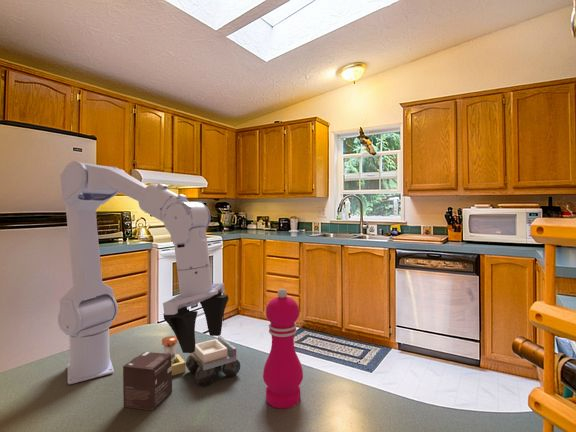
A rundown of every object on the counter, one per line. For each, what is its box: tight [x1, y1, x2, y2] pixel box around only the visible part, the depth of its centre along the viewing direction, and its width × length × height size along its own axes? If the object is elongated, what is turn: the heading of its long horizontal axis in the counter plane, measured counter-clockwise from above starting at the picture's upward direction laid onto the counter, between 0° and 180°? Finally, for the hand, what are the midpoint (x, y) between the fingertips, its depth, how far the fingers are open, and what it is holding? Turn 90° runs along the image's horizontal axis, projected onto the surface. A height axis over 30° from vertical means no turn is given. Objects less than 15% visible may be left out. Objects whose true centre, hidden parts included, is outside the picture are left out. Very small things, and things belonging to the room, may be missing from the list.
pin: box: [161, 335, 179, 364], centre depth 68 cm, size 3×3×7 cm
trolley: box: [185, 335, 241, 387], centre depth 67 cm, size 8×9×6 cm
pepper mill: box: [262, 288, 304, 409], centre depth 58 cm, size 7×7×20 cm
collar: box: [172, 353, 187, 377], centre depth 68 cm, size 5×5×2 cm
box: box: [122, 351, 173, 411], centre depth 58 cm, size 6×6×7 cm
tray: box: [194, 338, 227, 363], centre depth 66 cm, size 6×5×2 cm
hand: (202, 343), depth 57 cm, fingers open, 7 cm apart
